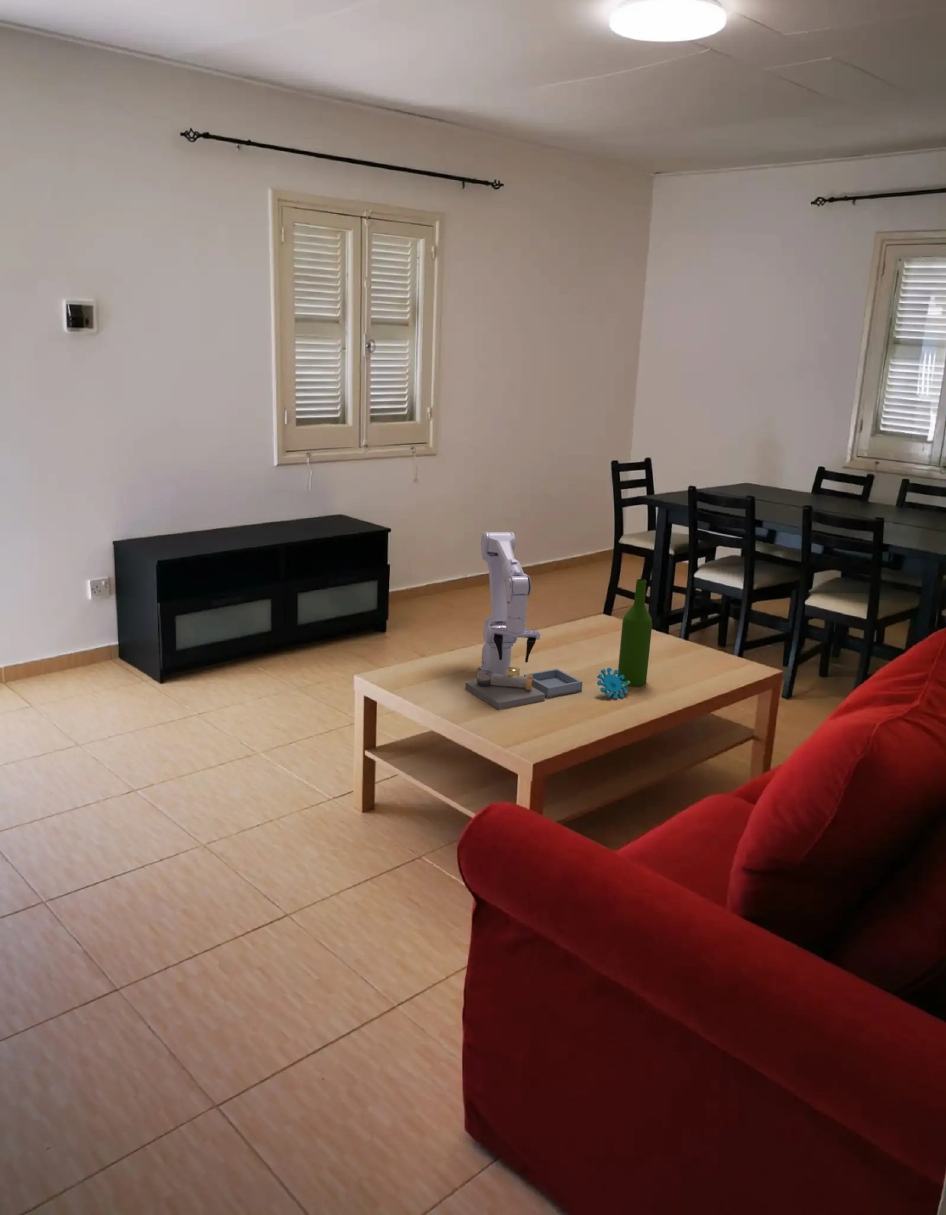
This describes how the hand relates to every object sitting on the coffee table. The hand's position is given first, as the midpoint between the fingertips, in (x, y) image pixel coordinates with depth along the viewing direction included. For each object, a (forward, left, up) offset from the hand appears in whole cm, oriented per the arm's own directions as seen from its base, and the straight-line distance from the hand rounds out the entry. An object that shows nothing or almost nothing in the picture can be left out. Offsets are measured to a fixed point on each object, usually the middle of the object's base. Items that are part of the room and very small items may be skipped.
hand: (513, 660), depth 278 cm
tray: (+4, +12, -9) cm, 16 cm away
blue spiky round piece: (+16, +25, -10) cm, 32 cm away
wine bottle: (+10, +38, -10) cm, 40 cm away
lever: (+1, -4, -7) cm, 8 cm away
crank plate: (+2, -4, -9) cm, 10 cm away
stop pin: (0, 0, -9) cm, 9 cm away
